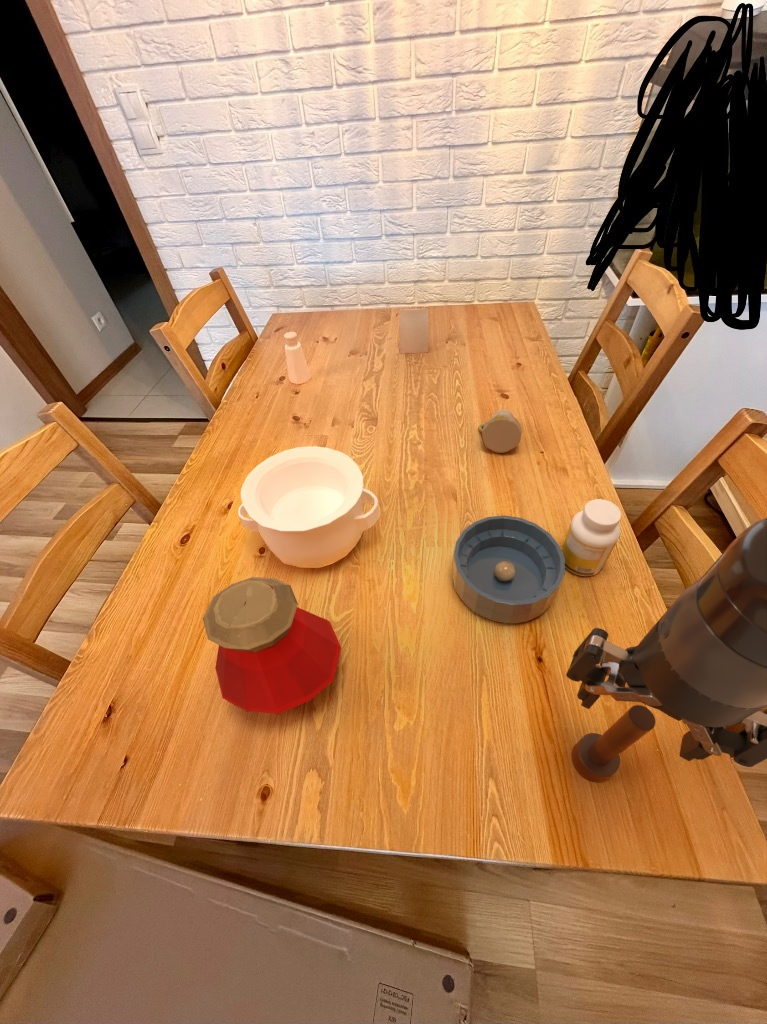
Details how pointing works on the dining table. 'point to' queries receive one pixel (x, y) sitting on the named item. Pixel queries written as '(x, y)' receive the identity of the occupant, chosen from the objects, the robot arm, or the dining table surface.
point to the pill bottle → (591, 537)
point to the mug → (501, 432)
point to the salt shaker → (296, 360)
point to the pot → (308, 505)
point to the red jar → (269, 646)
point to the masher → (610, 744)
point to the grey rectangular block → (414, 330)
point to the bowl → (518, 545)
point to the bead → (505, 571)
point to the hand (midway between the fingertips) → (633, 722)
